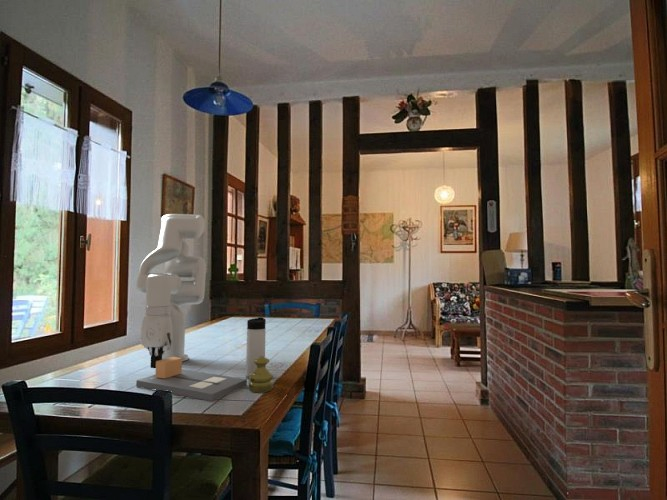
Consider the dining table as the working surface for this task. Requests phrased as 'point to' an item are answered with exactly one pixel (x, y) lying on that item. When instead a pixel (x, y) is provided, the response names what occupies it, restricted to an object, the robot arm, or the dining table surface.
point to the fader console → (195, 384)
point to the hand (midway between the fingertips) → (156, 367)
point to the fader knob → (168, 367)
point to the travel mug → (255, 342)
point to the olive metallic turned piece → (261, 376)
